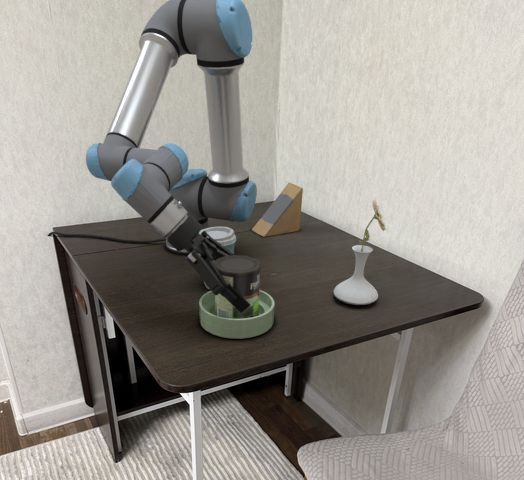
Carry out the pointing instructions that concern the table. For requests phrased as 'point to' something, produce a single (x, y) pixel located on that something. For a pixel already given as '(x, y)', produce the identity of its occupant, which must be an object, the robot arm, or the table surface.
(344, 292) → the flower in vase
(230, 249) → the disposable coffee cup
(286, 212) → the sandwich container
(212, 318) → the bowl
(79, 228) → the table surface
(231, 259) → the coffee can
